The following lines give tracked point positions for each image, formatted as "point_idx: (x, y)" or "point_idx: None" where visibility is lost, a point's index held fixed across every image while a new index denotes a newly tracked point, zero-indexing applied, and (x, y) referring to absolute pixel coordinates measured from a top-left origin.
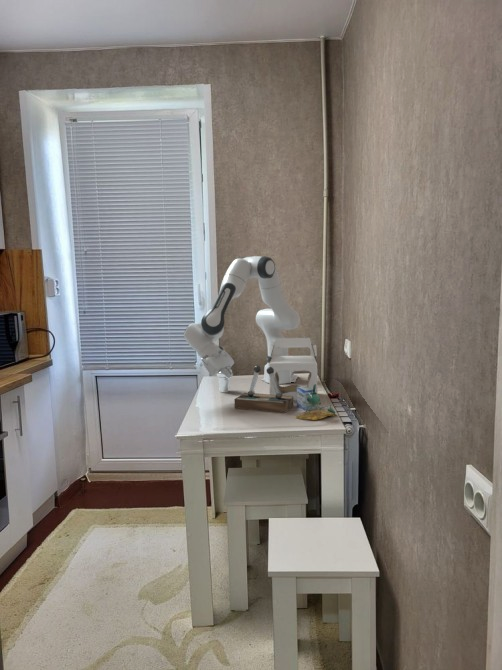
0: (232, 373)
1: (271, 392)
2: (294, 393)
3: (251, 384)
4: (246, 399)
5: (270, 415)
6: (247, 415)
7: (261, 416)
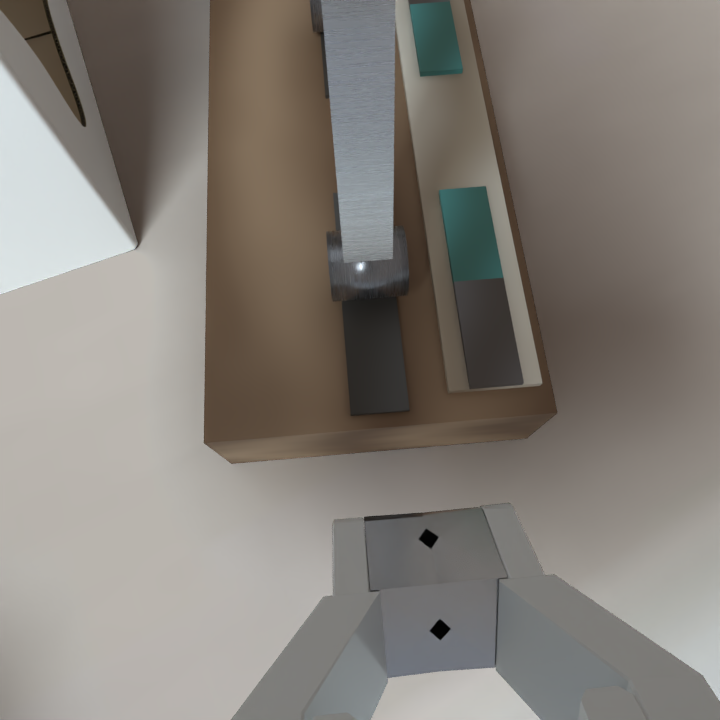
0: (335, 536)
1: (99, 183)
2: (57, 21)
3: (391, 168)
4: (517, 270)
5: (564, 82)
6: (665, 226)
7: (624, 125)
